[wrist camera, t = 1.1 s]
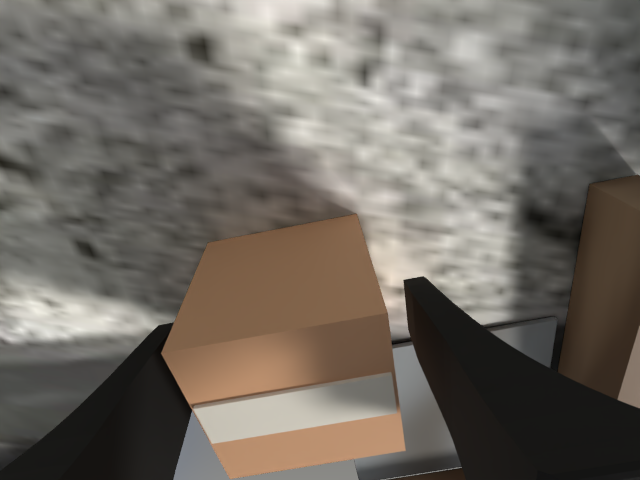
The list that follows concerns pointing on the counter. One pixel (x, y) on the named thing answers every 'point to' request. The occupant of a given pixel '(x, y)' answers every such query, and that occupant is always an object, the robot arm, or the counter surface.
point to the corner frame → (545, 337)
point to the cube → (288, 350)
